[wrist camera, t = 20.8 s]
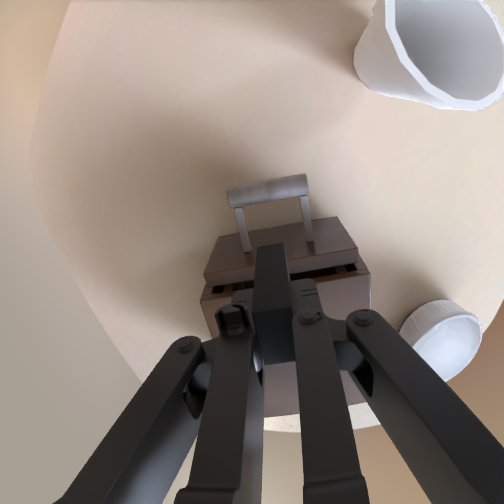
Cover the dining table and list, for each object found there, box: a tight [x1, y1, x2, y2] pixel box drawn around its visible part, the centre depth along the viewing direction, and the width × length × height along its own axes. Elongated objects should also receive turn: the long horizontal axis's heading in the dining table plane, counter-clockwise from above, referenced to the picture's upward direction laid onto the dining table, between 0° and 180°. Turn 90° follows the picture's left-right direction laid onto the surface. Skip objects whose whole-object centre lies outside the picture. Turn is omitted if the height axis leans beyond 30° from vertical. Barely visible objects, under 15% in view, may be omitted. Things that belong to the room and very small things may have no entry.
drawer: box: [203, 174, 359, 293], centre depth 27 cm, size 19×11×8 cm, turn 12°
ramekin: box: [399, 300, 482, 382], centre depth 32 cm, size 11×11×5 cm
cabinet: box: [200, 254, 371, 418], centre depth 29 cm, size 15×13×10 cm
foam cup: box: [353, 0, 504, 111], centre depth 18 cm, size 10×9×13 cm
